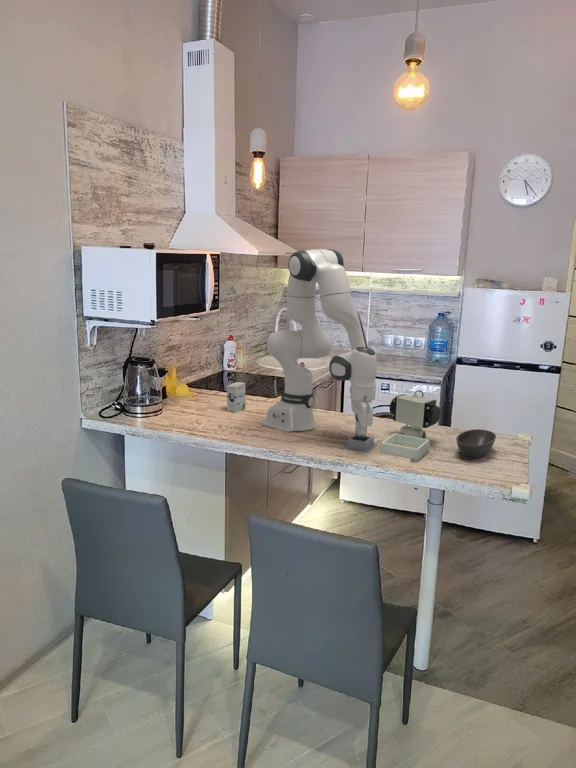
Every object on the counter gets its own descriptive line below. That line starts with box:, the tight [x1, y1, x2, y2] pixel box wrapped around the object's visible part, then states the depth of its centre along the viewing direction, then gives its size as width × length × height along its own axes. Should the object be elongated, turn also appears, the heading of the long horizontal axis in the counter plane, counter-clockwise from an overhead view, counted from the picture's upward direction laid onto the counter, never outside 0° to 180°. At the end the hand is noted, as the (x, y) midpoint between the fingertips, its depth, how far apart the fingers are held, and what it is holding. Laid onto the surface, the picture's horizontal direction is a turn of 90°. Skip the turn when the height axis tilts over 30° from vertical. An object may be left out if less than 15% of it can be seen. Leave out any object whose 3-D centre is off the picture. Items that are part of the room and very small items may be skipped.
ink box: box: [226, 381, 246, 414], centre depth 257 cm, size 9×5×12 cm, turn 155°
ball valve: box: [389, 393, 441, 439], centre depth 220 cm, size 18×8×18 cm, turn 48°
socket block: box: [342, 434, 379, 454], centre depth 209 cm, size 10×10×4 cm
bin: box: [380, 433, 430, 463], centre depth 205 cm, size 13×13×4 cm
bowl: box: [455, 428, 497, 460], centre depth 206 cm, size 12×22×6 cm, turn 145°
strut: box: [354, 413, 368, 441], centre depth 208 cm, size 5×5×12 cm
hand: (360, 430), depth 208 cm, fingers closed on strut, 4 cm apart
